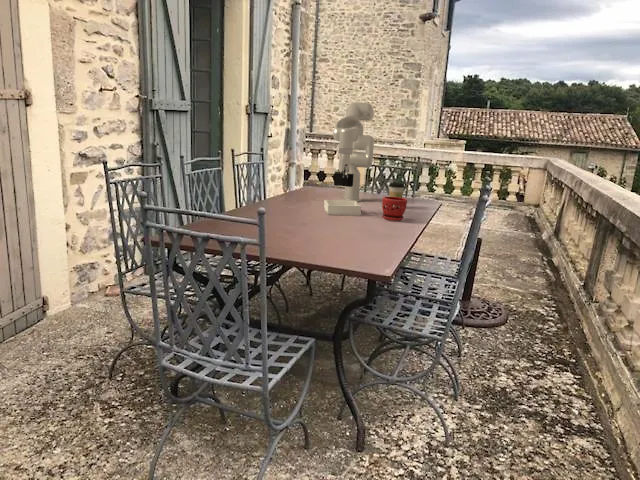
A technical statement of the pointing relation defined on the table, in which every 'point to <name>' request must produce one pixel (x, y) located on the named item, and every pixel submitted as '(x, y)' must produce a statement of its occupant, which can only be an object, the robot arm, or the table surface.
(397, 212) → the plant pot
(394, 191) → the coffee cup
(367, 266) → the table surface
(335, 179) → the digital camera
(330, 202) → the box
